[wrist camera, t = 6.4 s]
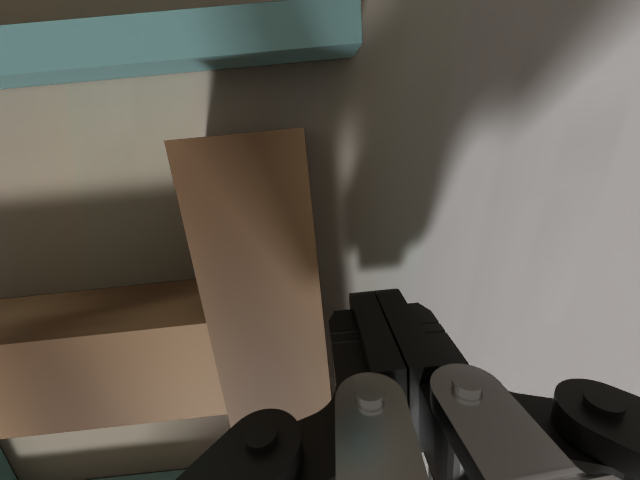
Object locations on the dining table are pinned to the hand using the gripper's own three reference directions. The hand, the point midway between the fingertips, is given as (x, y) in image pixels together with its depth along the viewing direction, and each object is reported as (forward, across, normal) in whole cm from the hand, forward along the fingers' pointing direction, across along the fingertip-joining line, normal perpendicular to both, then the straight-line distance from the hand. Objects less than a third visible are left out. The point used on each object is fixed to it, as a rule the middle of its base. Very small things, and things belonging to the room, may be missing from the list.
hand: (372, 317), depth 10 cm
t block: (+2, +7, 0) cm, 7 cm away
